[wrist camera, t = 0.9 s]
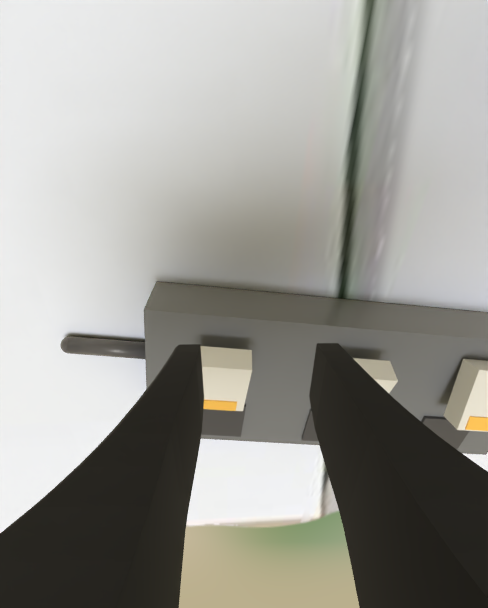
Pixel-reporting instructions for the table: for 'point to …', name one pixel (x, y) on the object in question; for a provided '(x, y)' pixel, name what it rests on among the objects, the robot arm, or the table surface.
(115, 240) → the table surface
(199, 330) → the power strip
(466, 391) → the rocker
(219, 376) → the rocker
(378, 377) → the rocker
